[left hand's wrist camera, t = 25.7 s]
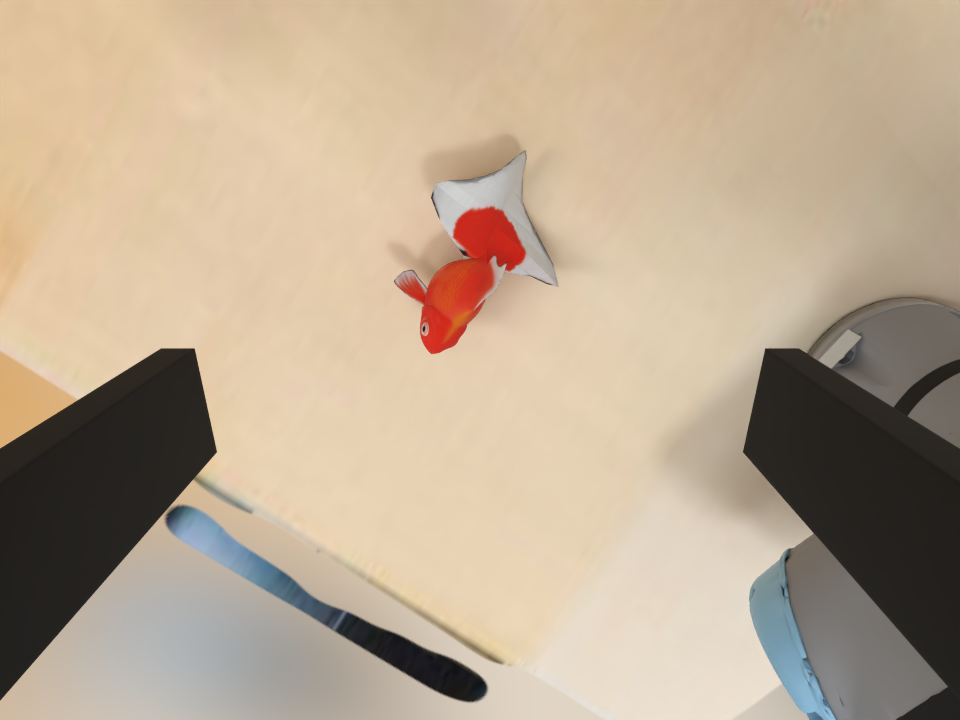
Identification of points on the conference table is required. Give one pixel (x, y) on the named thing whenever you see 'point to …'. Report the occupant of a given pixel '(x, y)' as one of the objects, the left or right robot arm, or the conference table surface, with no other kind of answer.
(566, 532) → the conference table surface
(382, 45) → the conference table surface
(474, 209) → the fish
